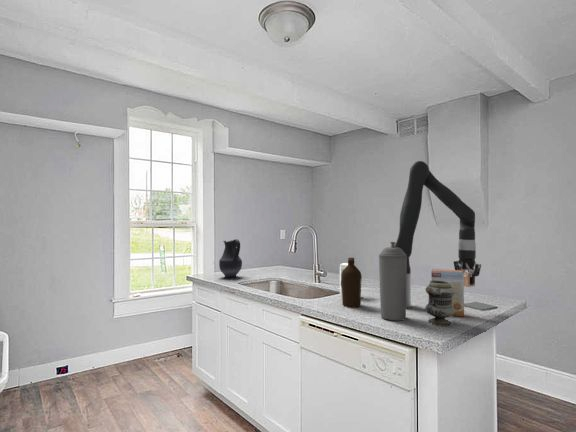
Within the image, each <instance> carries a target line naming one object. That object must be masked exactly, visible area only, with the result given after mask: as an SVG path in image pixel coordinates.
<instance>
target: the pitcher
mask: <svg viewBox="0 0 576 432" xmlns="http://www.w3.org/2000/svg"><path fill="white" fill-rule="evenodd" d="M223 243H224V249H223V252H222V255H221V258H220V259H219V260H218V261H219V263H218V265H219V269H220V270H219V271H220V272H221V273H222V274H223V275H224V279H226V278H229V279H228V280H231V279H230V278H234V279H237V278H238V276H237V275H238V274H239V273H240V271H241V270H242V266H243V260H242V259H241V257H240V251H241V241H240V240H239V239H237V238H236V239H235V238H234V239H231V240H228V241H226V240H223Z"/></svg>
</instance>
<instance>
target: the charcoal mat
mask: <svg viewBox="0 0 576 432" xmlns="http://www.w3.org/2000/svg"><path fill="white" fill-rule="evenodd" d="M464 308H471V309H475V310H478V311H480V312H481V311H482V312H483V311H486V310H494V309H498V306H496V305H492V304H490V303H489V304H488V303H483V302H479V301H472V302H466V303H465V302H464Z"/></svg>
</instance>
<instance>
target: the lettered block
mask: <svg viewBox="0 0 576 432" xmlns="http://www.w3.org/2000/svg"><path fill="white" fill-rule="evenodd" d="M475 286H476V283H475V284H474V285H470V274H469V272H468V271H465V272H464V287H466V288H471V287H475Z"/></svg>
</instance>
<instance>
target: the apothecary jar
mask: <svg viewBox="0 0 576 432" xmlns="http://www.w3.org/2000/svg"><path fill="white" fill-rule="evenodd" d="M425 292H426V294H427V295H428V303H427V304H426V305H425V307H424V310H425V312H426V313H427V314H428V315H430V316H432V318H429V319H428V320H427V322H428V323H429V324H431V323H432V324H431V325H434V324H435V326H438V325H443V326H442V327H447V326H452V325H453V322H452V321H451V320H449V319H446V318H450V317H454V316H453V315H454V314H455V309H454V307H453V306H452V296H453V295H454V294H455V290H454V289H453V288H452V287H451V283H450V282H448V281H443V280H432V279H431V280H430V281H429V284H428V285H427V286H426V287H425ZM446 325H447V326H446Z"/></svg>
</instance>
